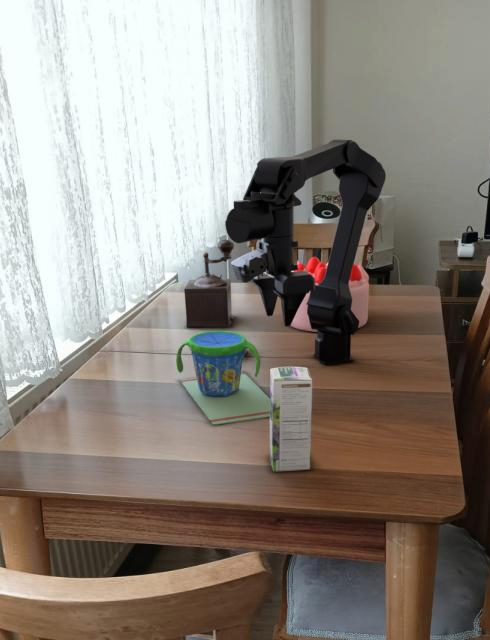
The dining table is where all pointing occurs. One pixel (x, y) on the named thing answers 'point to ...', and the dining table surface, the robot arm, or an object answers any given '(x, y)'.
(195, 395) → the green flat piece
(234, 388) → the snack cup
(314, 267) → the cake
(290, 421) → the syrup box
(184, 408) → the dining table surface
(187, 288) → the manual coffee grinder
